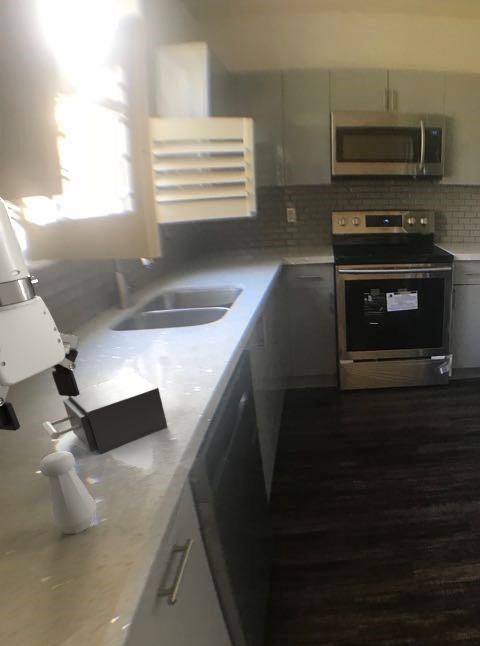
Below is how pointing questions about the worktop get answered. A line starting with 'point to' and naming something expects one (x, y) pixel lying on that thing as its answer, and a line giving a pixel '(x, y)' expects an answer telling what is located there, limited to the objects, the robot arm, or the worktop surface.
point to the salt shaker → (67, 494)
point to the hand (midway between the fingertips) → (41, 411)
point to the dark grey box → (121, 410)
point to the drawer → (73, 425)
